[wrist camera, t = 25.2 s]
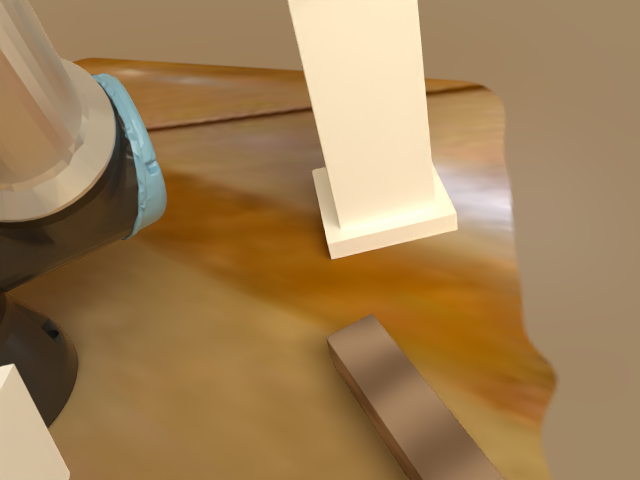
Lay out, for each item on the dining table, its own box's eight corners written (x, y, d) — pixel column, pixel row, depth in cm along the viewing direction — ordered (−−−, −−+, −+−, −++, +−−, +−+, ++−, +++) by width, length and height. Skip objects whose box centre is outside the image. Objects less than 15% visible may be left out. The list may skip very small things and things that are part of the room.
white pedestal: (314, 179, 67) (236, -129, 47) (421, 153, 67) (388, -169, 47) (333, 266, 56) (243, -84, 37) (460, 236, 56) (439, -134, 36)
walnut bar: (335, 368, 49) (326, 337, 46) (378, 345, 49) (371, 313, 47) (550, 694, 31) (554, 673, 29) (611, 649, 32) (621, 625, 29)
